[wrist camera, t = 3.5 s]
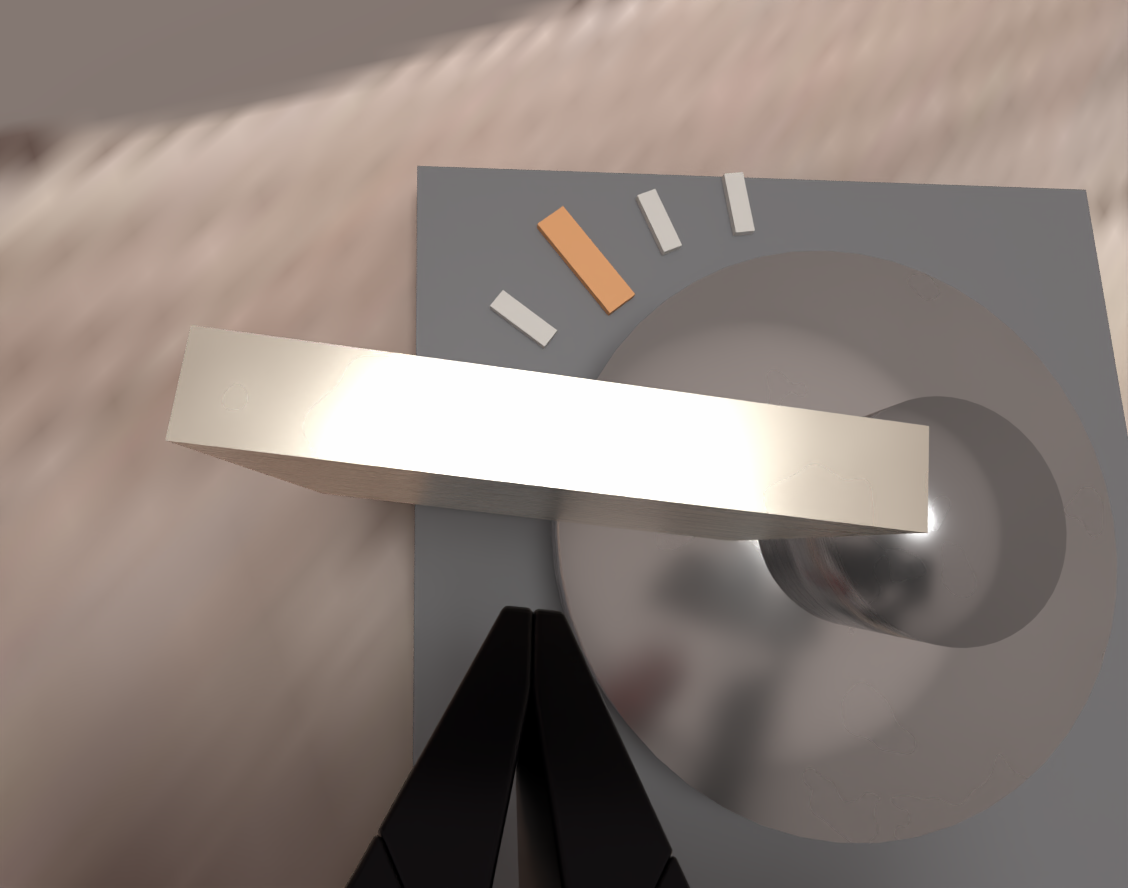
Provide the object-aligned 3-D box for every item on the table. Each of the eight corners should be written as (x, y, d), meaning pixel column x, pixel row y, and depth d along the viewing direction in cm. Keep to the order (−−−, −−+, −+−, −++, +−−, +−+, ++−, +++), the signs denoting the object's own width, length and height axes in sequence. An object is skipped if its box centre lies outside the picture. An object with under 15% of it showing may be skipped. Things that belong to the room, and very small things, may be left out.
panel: (1156, 886, 16) (1218, 916, 15) (396, 960, 14) (386, 1004, 13) (1048, 211, 19) (1092, 184, 18) (404, 191, 17) (397, 159, 16)
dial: (1042, 321, 17) (1509, 125, 9) (1051, 826, 15) (1671, 1132, 7) (390, 220, 15) (288, -116, 8) (298, 766, 13) (25, 1068, 5)
